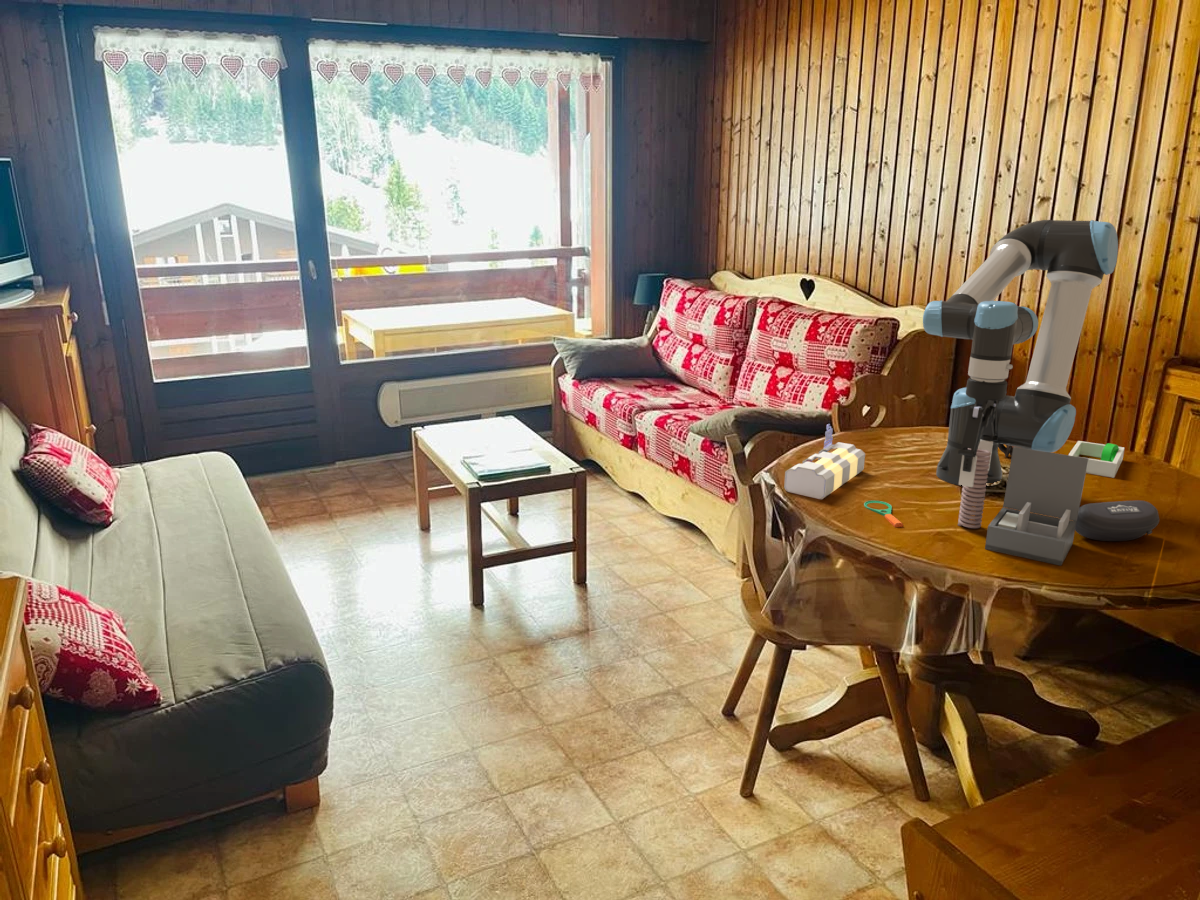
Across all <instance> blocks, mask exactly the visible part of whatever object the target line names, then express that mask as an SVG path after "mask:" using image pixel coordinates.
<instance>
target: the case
mask: <svg viewBox="0 0 1200 900" xmlns="http://www.w3.org/2000/svg"><path fill="white" fill-rule="evenodd" d="M1010 458H1011V459H1010V464H1009V470H1008V476H1007V482H1006V487H1005V494H1004V499H1003V505H1002V508H1001V509H1000V510H999V512H998V513H997V514H996V516H994V517H993V519H992V520H991V521H990V523H989V524H988V526H987V530H986V538H985V546H984V549H985V550H988V551H993V552H997V553H1001V554H1007V555H1011V556H1014V557H1015V556H1016V557H1021V558H1025V559H1028V560H1033V561H1037V562H1041V563H1042V562H1043V563H1047V564H1051V565H1055V566H1063V563H1064V561H1065V560H1066V558H1067V555H1068V553H1069V551H1070V550H1071V549H1072V546H1073V542H1074V537H1075V533H1076V531H1075V526H1076V521H1077V517H1078V512H1079V507H1081V506H1080V505H1081V502H1082V495H1083V489H1084V484H1085V479H1086V474H1087V473H1086V470H1087V464H1088V459H1089V458H1090V457H1089V458H1088V457H1081V456H1078V457H1076V456H1070V455H1067V454H1062V453H1058V452H1057V453H1055V452H1044V451H1038V450H1031V449H1025V448H1018V447H1013V452H1012V456H1011V457H1010Z"/></svg>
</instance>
